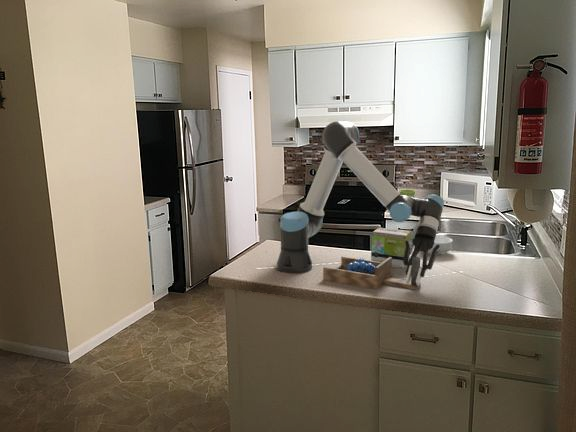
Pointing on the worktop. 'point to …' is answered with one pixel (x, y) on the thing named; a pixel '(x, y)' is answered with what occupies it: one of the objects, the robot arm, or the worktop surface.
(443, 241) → the cereal bowl
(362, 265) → the grapes
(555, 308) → the worktop surface
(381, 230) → the tea box
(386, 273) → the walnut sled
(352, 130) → the robot arm
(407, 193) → the plant pot
